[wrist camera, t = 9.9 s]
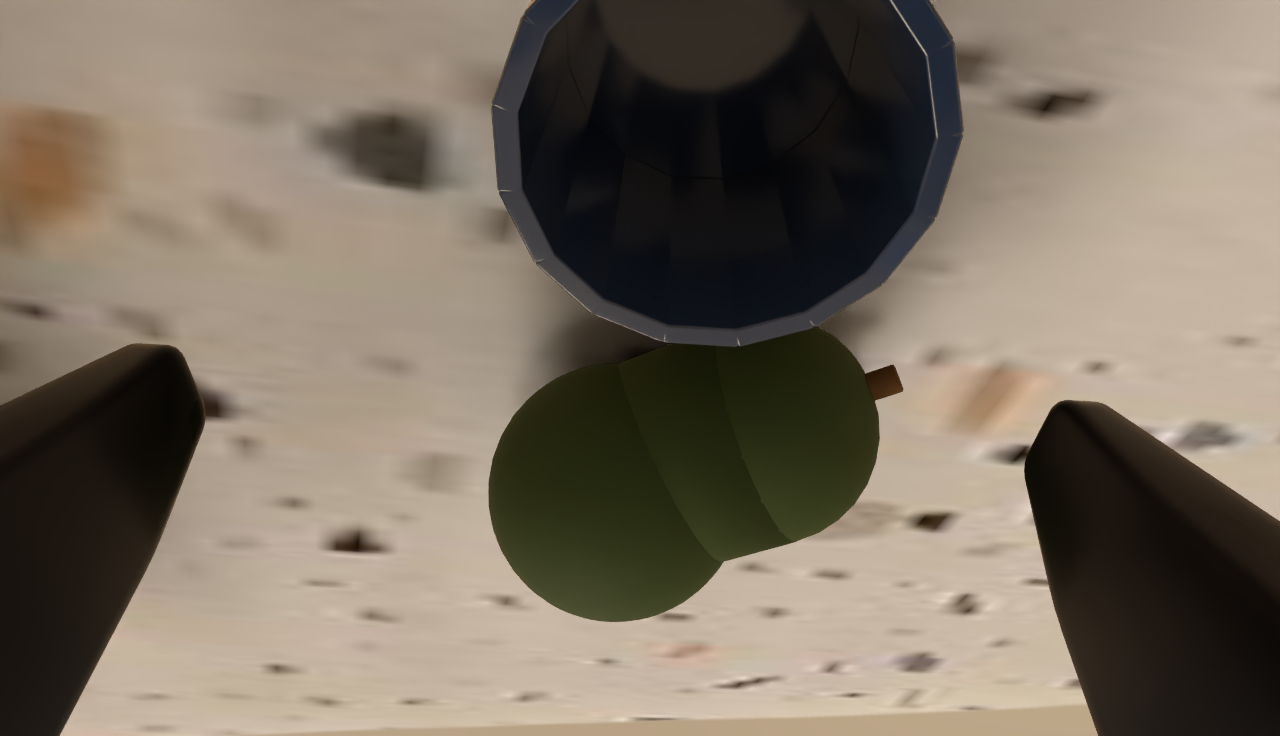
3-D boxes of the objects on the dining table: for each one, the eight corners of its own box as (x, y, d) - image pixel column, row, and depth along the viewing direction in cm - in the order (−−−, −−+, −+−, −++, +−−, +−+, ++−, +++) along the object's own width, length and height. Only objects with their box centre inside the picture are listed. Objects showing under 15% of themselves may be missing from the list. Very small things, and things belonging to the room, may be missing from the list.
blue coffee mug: (835, 191, 18) (892, 357, 13) (555, 175, 19) (509, 334, 13) (956, -354, 12) (1146, -425, 7) (540, -377, 12) (445, -463, 7)
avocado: (583, 503, 26) (558, 694, 21) (468, 363, 22) (402, 552, 17) (910, 399, 23) (980, 597, 17) (837, 211, 19) (897, 392, 14)
